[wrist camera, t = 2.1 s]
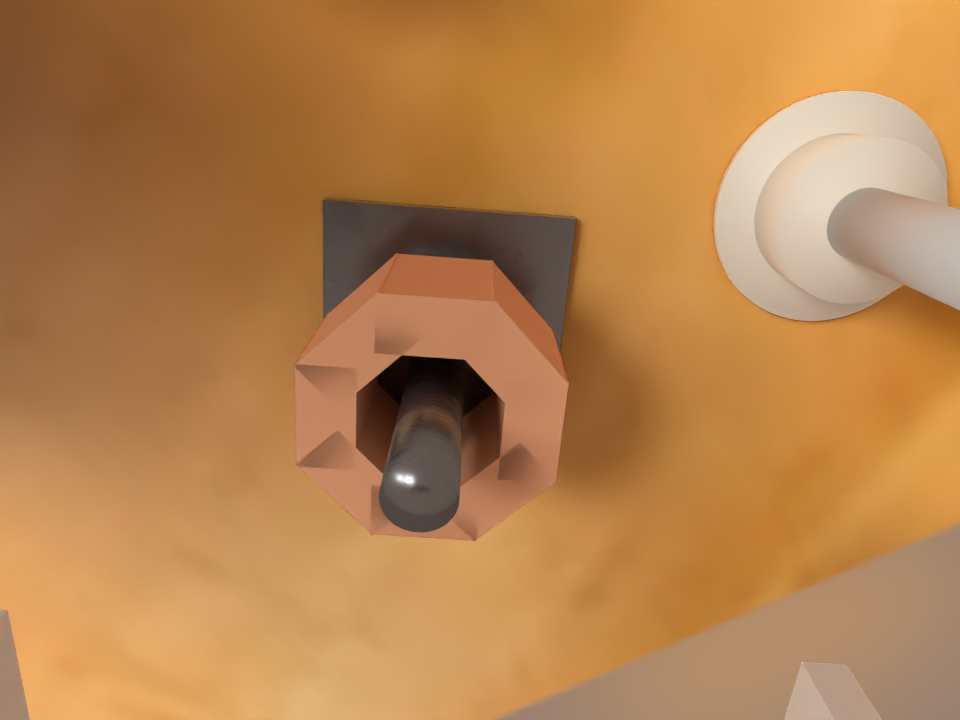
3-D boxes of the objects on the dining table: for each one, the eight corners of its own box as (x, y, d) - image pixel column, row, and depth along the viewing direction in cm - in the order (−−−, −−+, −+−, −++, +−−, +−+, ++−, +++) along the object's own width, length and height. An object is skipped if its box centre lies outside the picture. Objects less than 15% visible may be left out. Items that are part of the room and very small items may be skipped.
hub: (693, 309, 30) (800, 418, 20) (737, 81, 26) (890, 77, 17) (901, 324, 30) (1107, 439, 20) (970, 100, 27) (1256, 108, 17)
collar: (328, 454, 27) (296, 530, 22) (327, 247, 24) (291, 285, 19) (536, 467, 27) (548, 546, 23) (560, 265, 24) (579, 306, 20)
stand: (326, 423, 32) (225, 645, 19) (325, 197, 28) (201, 287, 15) (547, 437, 32) (593, 666, 19) (574, 216, 28) (652, 320, 16)
